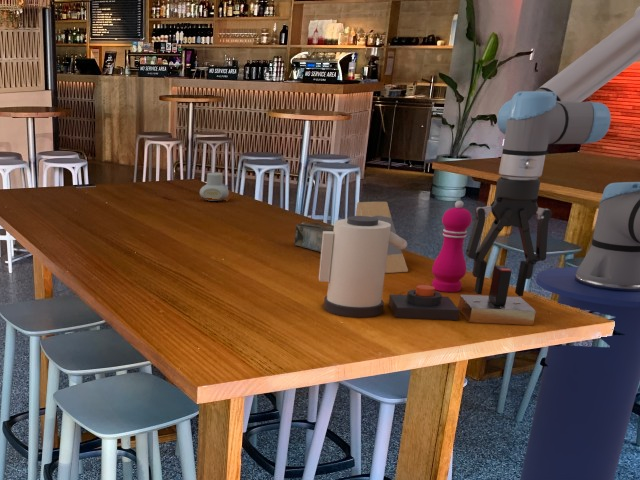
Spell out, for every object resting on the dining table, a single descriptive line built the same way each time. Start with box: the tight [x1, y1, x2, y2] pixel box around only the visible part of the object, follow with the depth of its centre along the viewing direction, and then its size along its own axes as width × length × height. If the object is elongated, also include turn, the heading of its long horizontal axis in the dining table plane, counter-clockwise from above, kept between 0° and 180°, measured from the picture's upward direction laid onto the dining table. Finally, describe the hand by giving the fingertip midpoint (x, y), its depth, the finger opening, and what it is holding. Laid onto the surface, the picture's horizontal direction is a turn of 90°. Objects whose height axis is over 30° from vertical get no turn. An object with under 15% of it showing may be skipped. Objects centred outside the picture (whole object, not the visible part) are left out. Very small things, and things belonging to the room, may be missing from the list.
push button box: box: [388, 289, 460, 321], centre depth 164 cm, size 12×10×4 cm
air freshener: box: [199, 172, 230, 202], centre depth 297 cm, size 11×8×10 cm
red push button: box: [415, 284, 436, 296], centre depth 163 cm, size 4×4×2 cm
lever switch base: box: [457, 294, 537, 326], centre depth 161 cm, size 12×10×3 cm
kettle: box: [318, 215, 408, 319], centre depth 163 cm, size 17×12×19 cm
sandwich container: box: [355, 201, 409, 274], centre depth 200 cm, size 9×15×15 cm, turn 11°
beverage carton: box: [294, 221, 334, 253], centre depth 217 cm, size 8×19×7 cm, turn 28°
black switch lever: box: [488, 264, 512, 306], centre depth 159 cm, size 5×2×7 cm, turn 171°
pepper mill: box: [431, 200, 473, 293], centre depth 178 cm, size 7×7×20 cm
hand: (498, 293), depth 160 cm, fingers open, 7 cm apart
